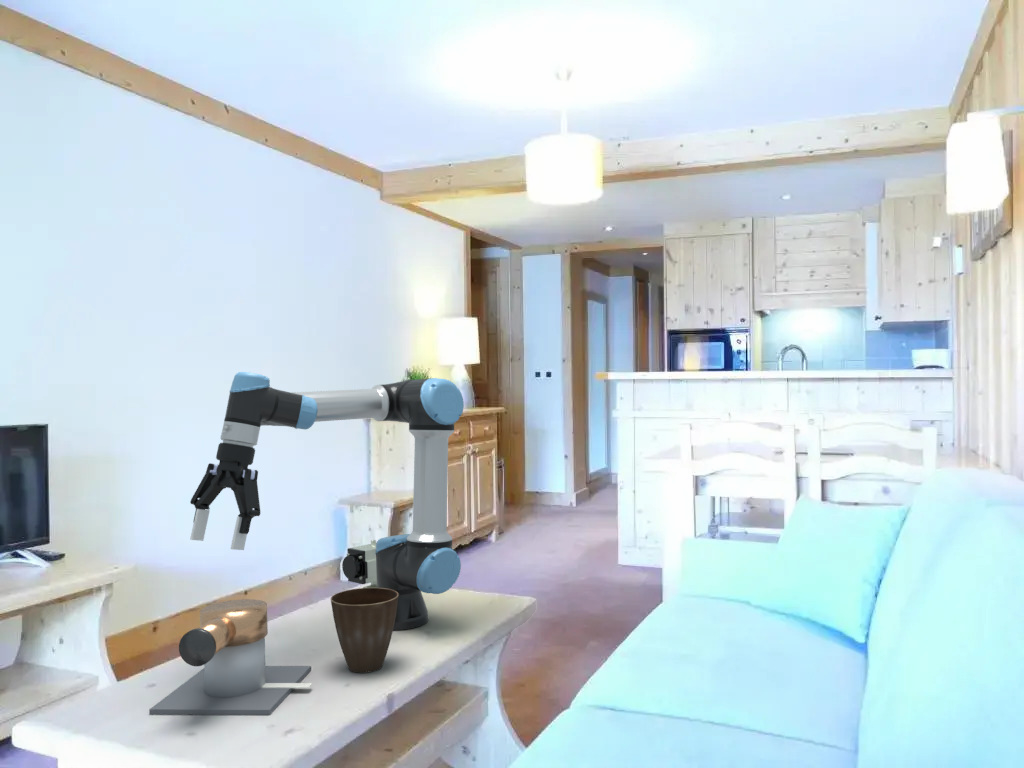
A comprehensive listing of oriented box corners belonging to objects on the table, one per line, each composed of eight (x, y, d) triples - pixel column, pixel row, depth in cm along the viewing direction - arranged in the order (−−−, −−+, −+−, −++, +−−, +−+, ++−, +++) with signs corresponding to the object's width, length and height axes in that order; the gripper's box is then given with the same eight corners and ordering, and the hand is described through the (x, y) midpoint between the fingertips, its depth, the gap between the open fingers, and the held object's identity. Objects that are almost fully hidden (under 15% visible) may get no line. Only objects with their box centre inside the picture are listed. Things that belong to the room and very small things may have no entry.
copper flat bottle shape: (218, 629, 170) (217, 597, 170) (277, 628, 169) (276, 597, 169) (162, 666, 147) (162, 630, 147) (230, 666, 146) (229, 629, 146)
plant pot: (397, 653, 184) (396, 585, 184) (402, 675, 169) (400, 601, 170) (332, 659, 181) (331, 590, 181) (332, 682, 166) (330, 607, 166)
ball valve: (360, 609, 222) (358, 547, 222) (342, 604, 228) (340, 543, 228) (408, 596, 236) (407, 537, 236) (390, 592, 241) (389, 534, 242)
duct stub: (328, 670, 174) (327, 620, 174) (290, 715, 150) (288, 657, 150) (206, 670, 176) (205, 621, 176) (149, 714, 152) (148, 657, 152)
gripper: (187, 437, 171) (165, 535, 167) (261, 445, 157) (239, 552, 153) (216, 443, 177) (195, 537, 173) (290, 451, 163) (269, 554, 159)
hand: (216, 544), depth 163 cm, fingers open, 13 cm apart
